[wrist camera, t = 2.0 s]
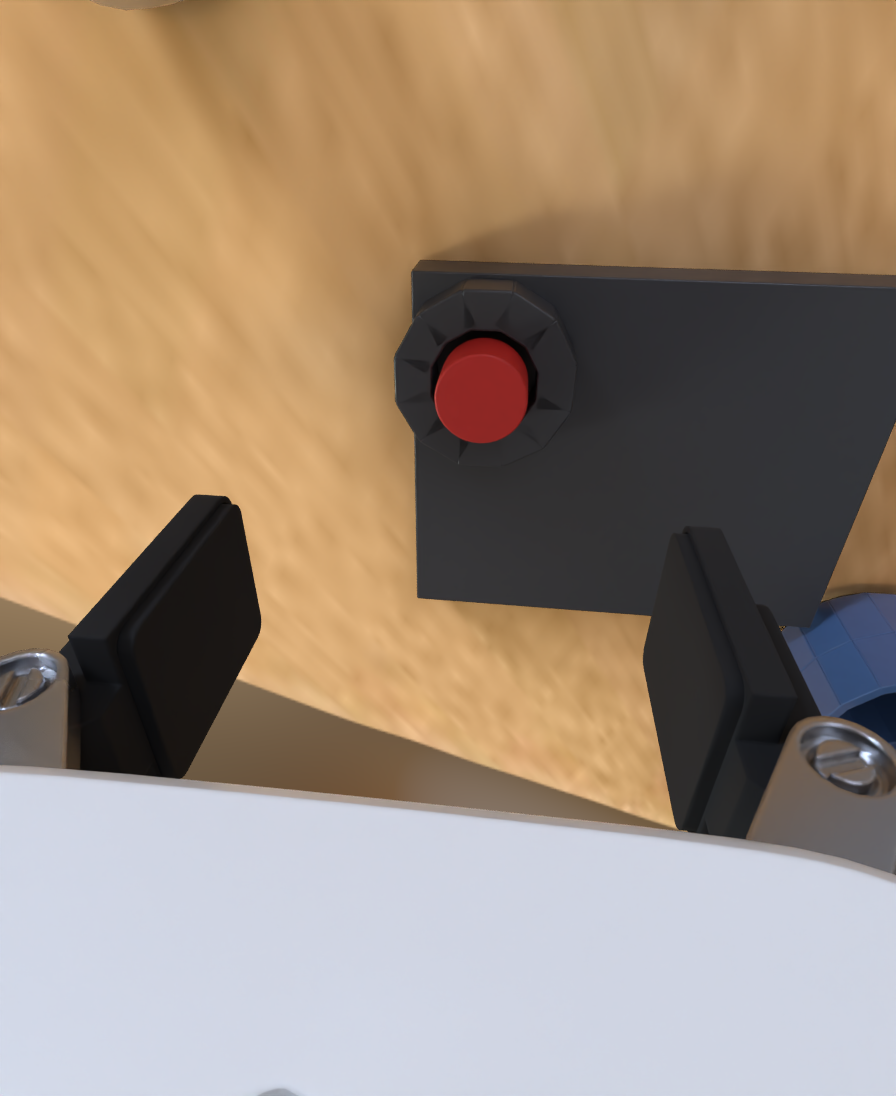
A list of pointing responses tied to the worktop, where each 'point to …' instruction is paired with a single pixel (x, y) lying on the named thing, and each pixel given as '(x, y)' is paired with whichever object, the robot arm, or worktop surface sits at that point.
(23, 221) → the worktop surface
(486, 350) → the button
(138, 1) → the silver bottle
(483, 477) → the scale
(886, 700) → the cup
